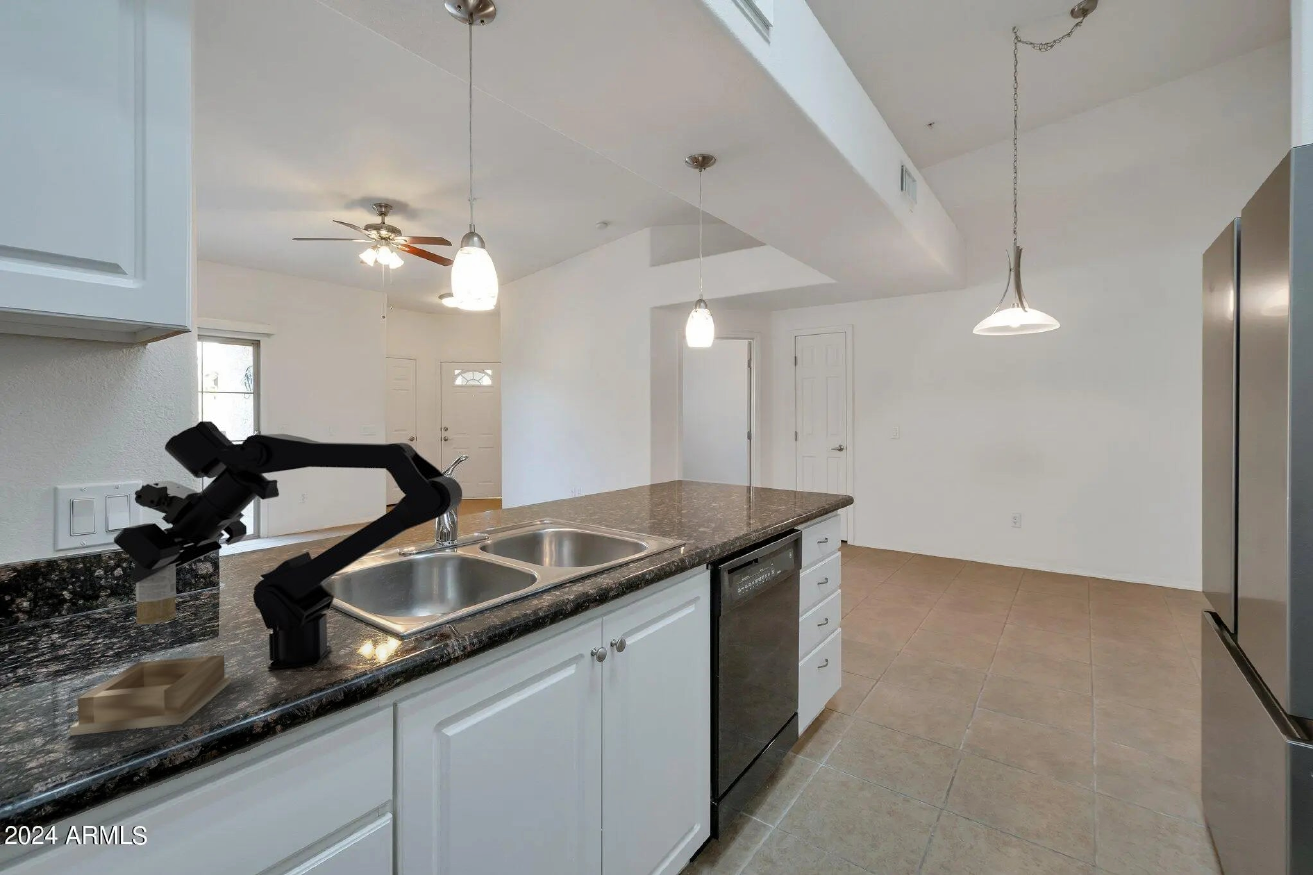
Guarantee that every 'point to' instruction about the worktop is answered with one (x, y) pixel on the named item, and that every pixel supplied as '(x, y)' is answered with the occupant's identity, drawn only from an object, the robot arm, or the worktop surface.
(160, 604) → the sprinkles bottle
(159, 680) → the caddy
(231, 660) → the worktop surface
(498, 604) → the worktop surface
